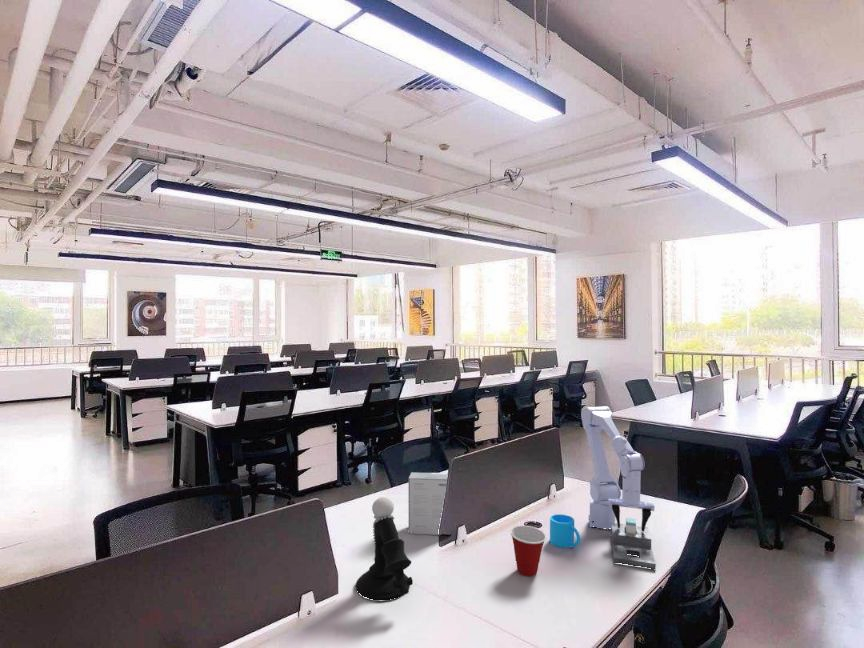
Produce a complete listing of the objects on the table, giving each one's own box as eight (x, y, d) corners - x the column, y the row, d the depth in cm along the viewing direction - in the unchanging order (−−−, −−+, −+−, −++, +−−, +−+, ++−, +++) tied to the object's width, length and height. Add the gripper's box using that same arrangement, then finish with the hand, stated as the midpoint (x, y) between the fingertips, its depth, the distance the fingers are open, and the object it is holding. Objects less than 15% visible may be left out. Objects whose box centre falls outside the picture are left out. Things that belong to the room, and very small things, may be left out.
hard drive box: (452, 527, 182) (453, 473, 181) (451, 536, 174) (452, 479, 174) (410, 525, 183) (411, 471, 183) (407, 534, 176) (408, 477, 175)
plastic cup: (534, 585, 142) (535, 543, 142) (502, 572, 149) (503, 532, 149) (552, 571, 151) (553, 531, 150) (521, 559, 158) (521, 522, 158)
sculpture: (397, 568, 151) (398, 486, 151) (432, 609, 130) (433, 514, 130) (349, 579, 144) (349, 494, 144) (378, 624, 123) (379, 524, 123)
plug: (626, 539, 168) (626, 522, 168) (625, 534, 172) (625, 517, 172) (635, 541, 167) (636, 523, 167) (634, 536, 171) (635, 518, 171)
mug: (544, 540, 172) (544, 517, 172) (561, 535, 176) (561, 512, 176) (570, 554, 162) (571, 529, 161) (588, 549, 166) (588, 524, 166)
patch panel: (613, 563, 156) (614, 549, 156) (611, 535, 176) (611, 522, 176) (655, 570, 152) (655, 555, 152) (647, 540, 173) (648, 527, 173)
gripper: (609, 490, 168) (608, 530, 168) (655, 495, 164) (655, 536, 164) (608, 483, 175) (608, 522, 175) (653, 488, 170) (652, 528, 170)
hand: (630, 528), depth 170 cm, fingers open, 7 cm apart
